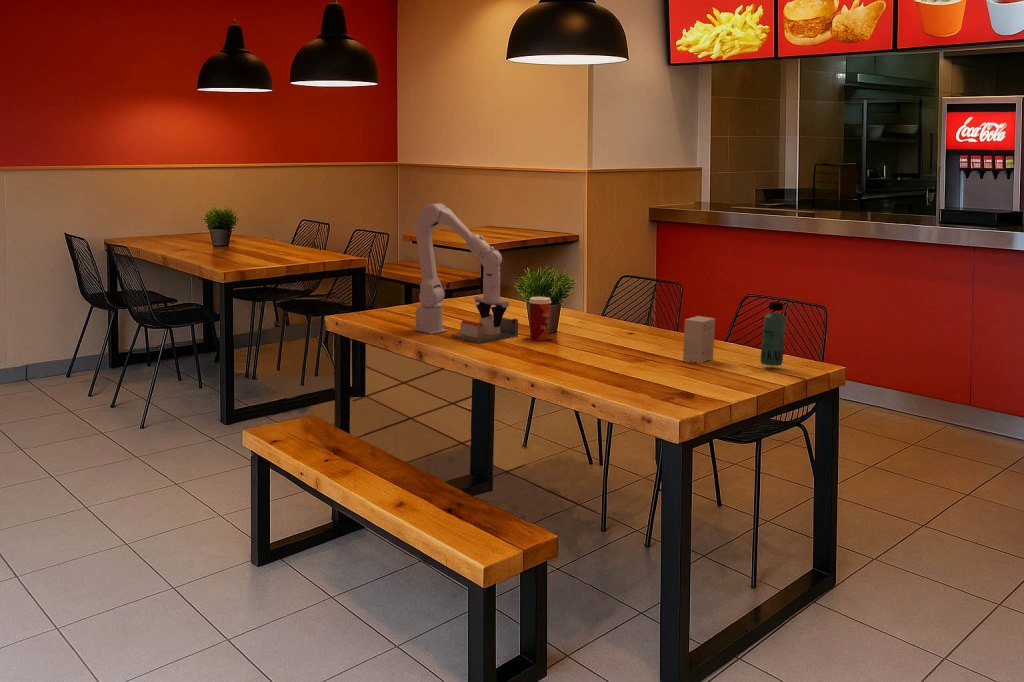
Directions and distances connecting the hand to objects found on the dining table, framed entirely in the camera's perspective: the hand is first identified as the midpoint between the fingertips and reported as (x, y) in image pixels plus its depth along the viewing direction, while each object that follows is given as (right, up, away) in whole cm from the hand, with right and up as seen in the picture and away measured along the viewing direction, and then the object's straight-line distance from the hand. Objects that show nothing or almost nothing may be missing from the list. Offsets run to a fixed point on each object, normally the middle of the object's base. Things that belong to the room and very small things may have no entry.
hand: (491, 325), depth 315 cm
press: (-2, -4, -1) cm, 5 cm away
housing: (0, -2, 0) cm, 2 cm away
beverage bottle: (+84, -14, -40) cm, 94 cm away
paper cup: (+16, -5, -4) cm, 17 cm away
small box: (+64, -11, -31) cm, 72 cm away
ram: (-6, -3, -6) cm, 9 cm away
